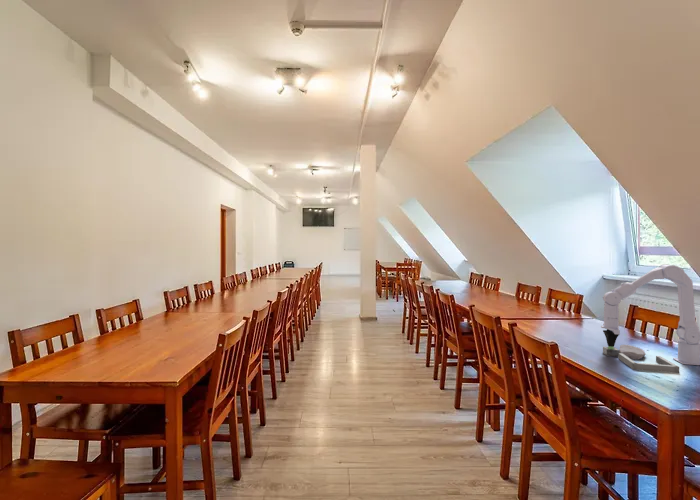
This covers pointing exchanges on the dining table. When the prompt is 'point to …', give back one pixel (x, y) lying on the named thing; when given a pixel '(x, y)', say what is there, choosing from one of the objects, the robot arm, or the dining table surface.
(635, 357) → the stone block
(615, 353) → the button box
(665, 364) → the corral
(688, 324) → the robot arm
